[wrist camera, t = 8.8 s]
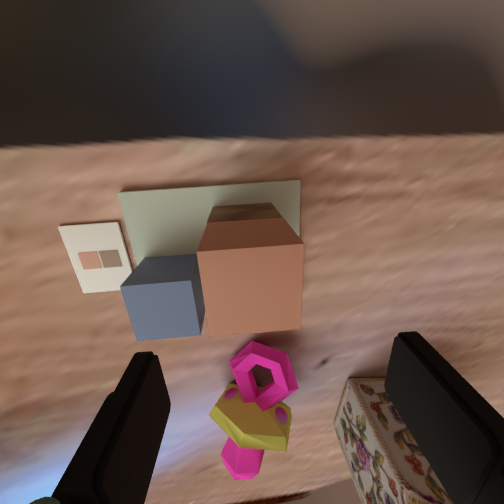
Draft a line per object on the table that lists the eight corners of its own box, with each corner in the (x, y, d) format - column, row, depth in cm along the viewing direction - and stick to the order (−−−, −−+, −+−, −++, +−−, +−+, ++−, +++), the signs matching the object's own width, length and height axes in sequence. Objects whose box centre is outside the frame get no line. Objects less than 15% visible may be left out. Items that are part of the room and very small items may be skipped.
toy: (309, 344, 34) (305, 383, 24) (280, 457, 36) (265, 538, 26) (244, 322, 37) (217, 349, 27) (219, 428, 38) (185, 492, 28)
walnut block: (271, 202, 24) (282, 216, 19) (272, 255, 27) (282, 282, 21) (212, 206, 24) (206, 222, 18) (219, 260, 26) (215, 288, 21)
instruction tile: (118, 221, 25) (117, 222, 24) (137, 287, 28) (136, 288, 27) (59, 225, 24) (57, 226, 24) (85, 291, 28) (83, 293, 27)
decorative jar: (346, 375, 36) (441, 563, 20) (417, 374, 37) (564, 552, 21) (330, 425, 41) (397, 612, 24) (394, 423, 42) (500, 601, 25)
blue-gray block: (200, 253, 26) (190, 280, 20) (207, 299, 28) (200, 335, 23) (144, 257, 26) (119, 286, 20) (156, 303, 28) (137, 341, 22)
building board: (298, 179, 24) (300, 180, 24) (296, 294, 30) (298, 298, 29) (120, 191, 24) (116, 192, 23) (151, 307, 29) (149, 311, 28)
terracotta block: (283, 217, 19) (304, 243, 13) (283, 282, 21) (301, 328, 16) (207, 222, 18) (196, 251, 13) (216, 288, 21) (209, 337, 15)
